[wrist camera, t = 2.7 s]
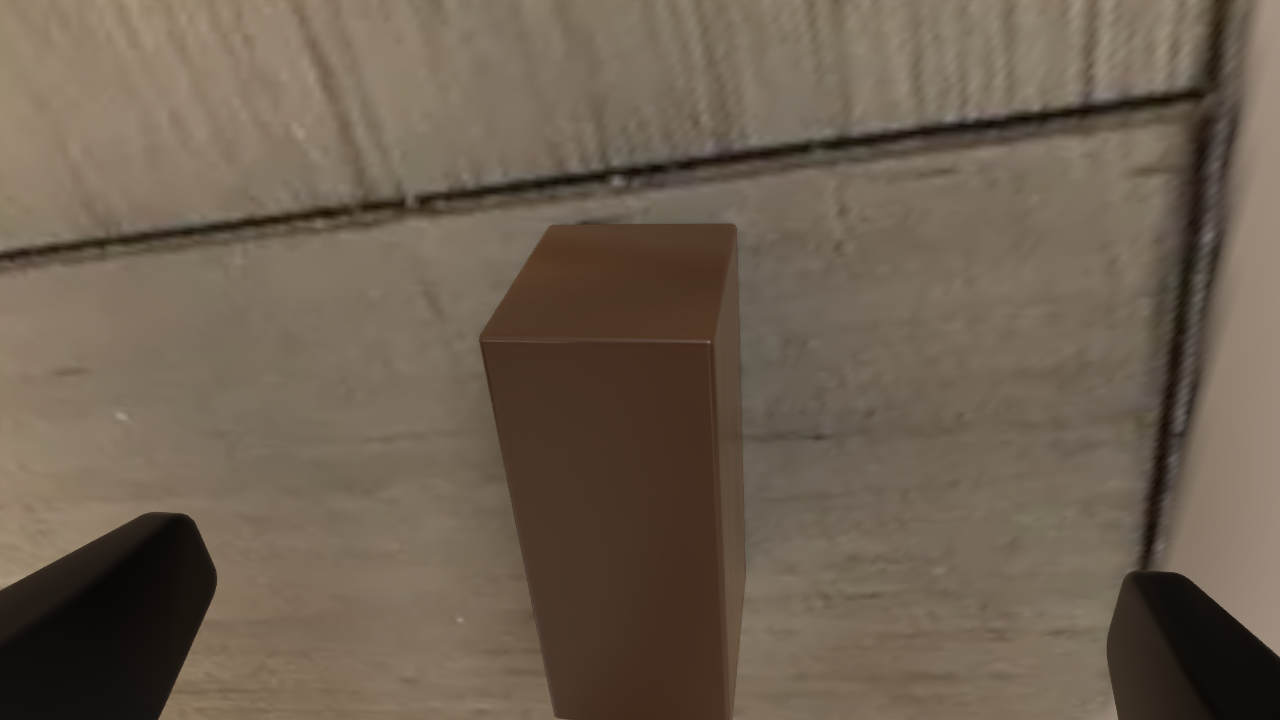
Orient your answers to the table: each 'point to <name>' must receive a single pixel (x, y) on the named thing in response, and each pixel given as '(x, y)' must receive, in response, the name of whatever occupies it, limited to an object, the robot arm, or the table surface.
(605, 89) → the table surface
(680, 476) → the tall brown square pillar
